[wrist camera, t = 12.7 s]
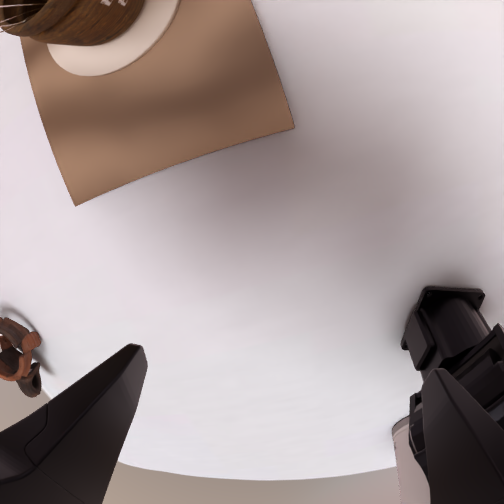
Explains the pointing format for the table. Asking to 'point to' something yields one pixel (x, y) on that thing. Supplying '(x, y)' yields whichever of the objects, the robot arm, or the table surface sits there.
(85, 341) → the table surface
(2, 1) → the utensil holder
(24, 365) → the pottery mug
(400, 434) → the travel mug
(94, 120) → the walnut board
